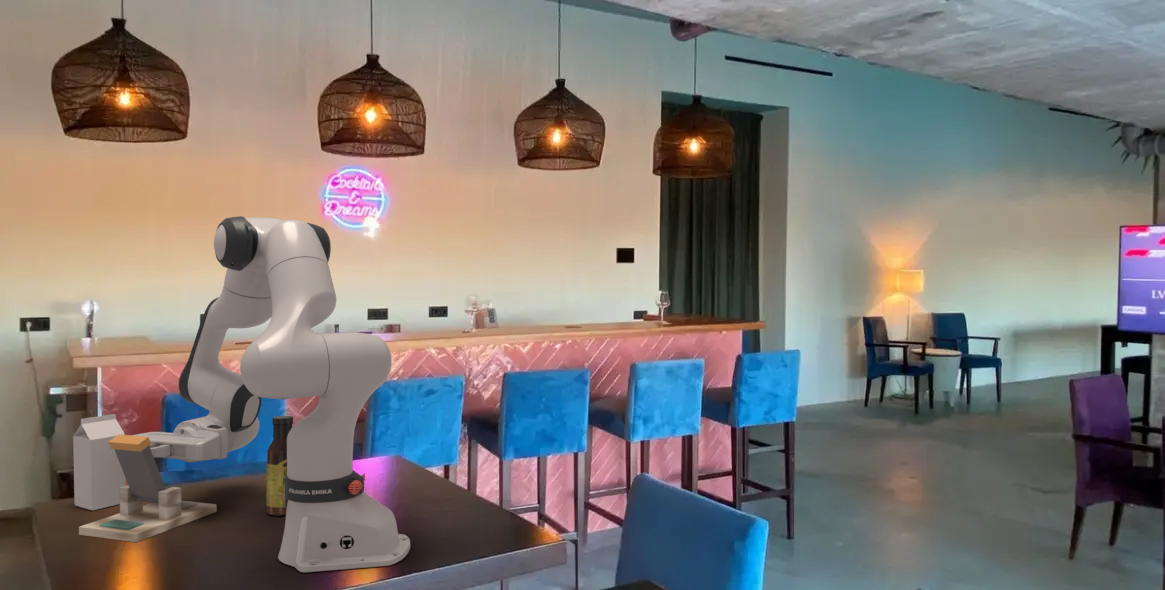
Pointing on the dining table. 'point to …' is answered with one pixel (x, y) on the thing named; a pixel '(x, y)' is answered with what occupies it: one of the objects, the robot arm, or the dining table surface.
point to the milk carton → (97, 463)
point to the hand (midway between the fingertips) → (140, 454)
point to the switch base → (147, 516)
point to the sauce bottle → (277, 465)
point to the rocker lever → (138, 466)
